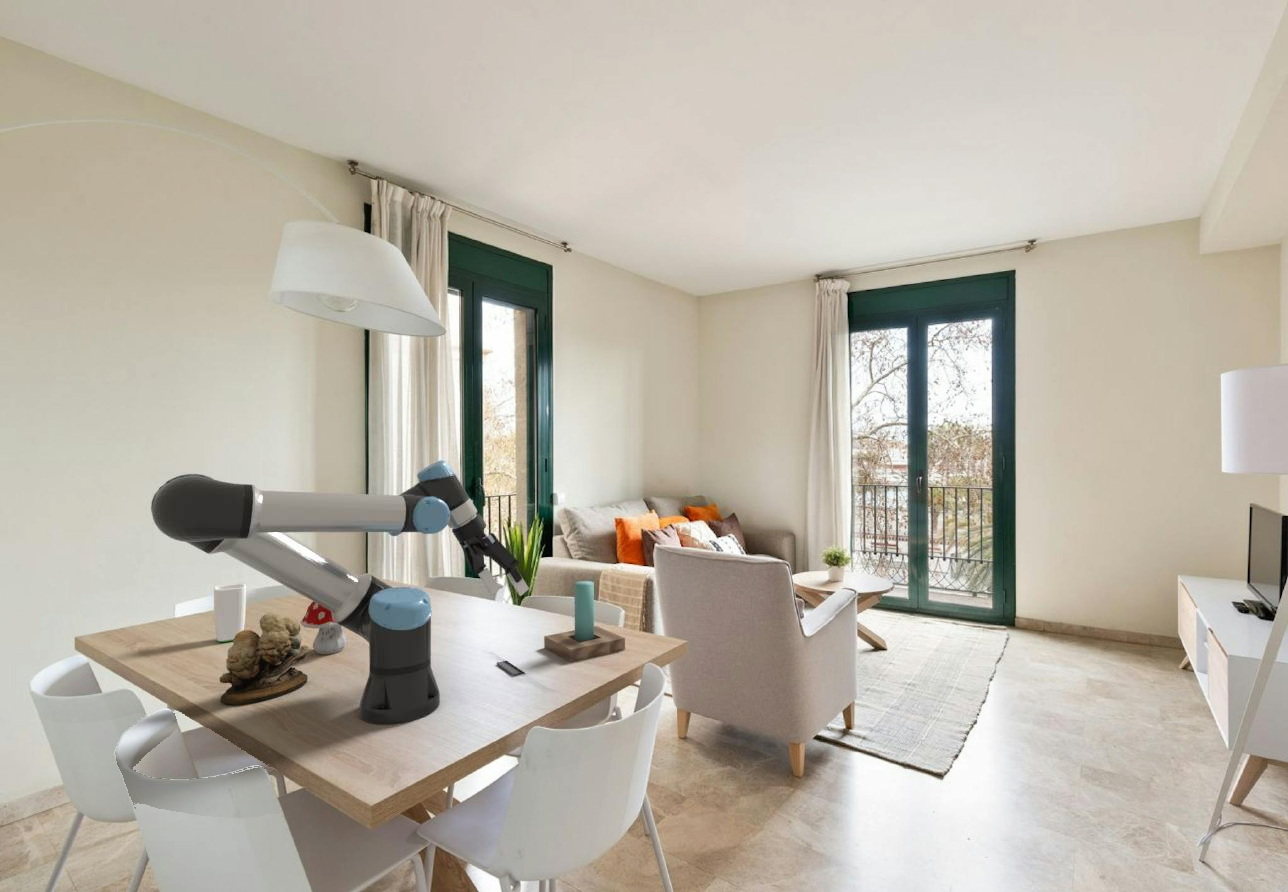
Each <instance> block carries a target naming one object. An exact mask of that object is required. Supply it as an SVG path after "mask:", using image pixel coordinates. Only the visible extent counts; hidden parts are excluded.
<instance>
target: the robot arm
mask: <svg viewBox="0 0 1288 892" xmlns="http://www.w3.org/2000/svg"><path fill="white" fill-rule="evenodd" d="M453 470H454V469H452V467H451V465H450V464H449V463H448V462H447V461H446V460H443V459H442V460H438V461H436V462H434V463H432V464H430V465H428V466H426V467H424V468H423V469H421V470H420V471H419V472H418V473H417V474H416V476H417V479H418V482H417V483H416V484H414V485H413V486H412V487H410V488H409V489H406V490H405V491H403V492H402V493H400V494H399V495H391V494H371V493H370V494H365V493H362V494H361V493H343V492H342V493H337V492H336V493H335V492H310V491H309V492H308V491H307V492H306V491H283V490H281V491H279V490H278V491H276V490H262V489H261V490H260V489H259V488H258V487H257V486H256V485H254V484H245V483H232V482H226V481H221V480H217V479H214V478H213V477H210V476H208V475H204V474H198V473H186V474H185V473H184V474H181V475H177V476H175V477H172V478H170V479H168V480H167V481H165V483H164V484H162V485H161V486H160V487H159V488H158V490H156V492H155V493H154V495H153V497H152V500H151V505H150V510H151V511H150V512H151V514H152V519H153V520H152V521H153V523H154V524H155V526H156V527H157V529H158V530H159V531H160V532H161V533H162V534H163V535H165V536H167V537H168V538H170V539H173V540H174V541H179V542H185V543H187V544H189V545H191V546H193V547H194V548H197V549H199V550H200V551H203V552H204V553H206V554H208V555H213V554H218V553H225V554H226V555H228V556H230V557H232V558H234V559H235V560H237V561H238V562H241V563H242V564H244V565H247V566H248V567H250V568H252V569H253V570H255V571H257V572H259V573H261V574H263V575H265V576H267V577H268V578H270V579H272V580H274V581H275V582H278V583H279V584H281V585H283V586H285V587H287V588H289V589H290V590H292V591H294V592H296V593H298V594H299V595H300V596H302V597H305V598H307V599H308V600H311V601H312V602H313V601H314V602H316V603H317V604H319V605H321V606H323V607H325V608H327V609H328V610H330V611H331V612H332V618H333V621H334V622H336V623H338V624H339V625H341V627H343V628H345V629H347V630H349V631H350V632H353V633H354V634H356V635H358V636H360V637H361V638H363V639H364V640H365V641H366V642H367V643H369V648H368V649H369V652H368V653H369V654H368V655H369V659H368V660H369V668H368V669H369V674H368V677H367V680H366V683H365V687H364V690H363V693H362V695H361V698H360V702H359V717H360V718H361V719H362V720H363V721H366V722H368V723H372V724H380V725H381V724H382V725H384V724H385V725H386V724H387V725H388V724H397V723H398V724H399V723H404V722H409V721H414V720H417V719H420V718H423V717H425V716H427V715H430V714H431V713H433V712H434V711H435V710H437V708H439V706H440V704H441V703H440V702H441V700H440V697H441V695H440V689H439V686H438V684H437V683H438V682H437V680H436V678H435V675H434V674H435V673H434V672H433V669H432V662H431V661H432V657H431V656H432V650H431V649H432V648H431V647H432V611H433V610H432V609H433V608H432V605H431V597H430V595H429V593H427V592H426V591H425V590H422V589H419V588H417V587H415V588H412V587H410V586H397V587H393V586H391V585H389V584H387V583H385V582H384V581H382V580H380V579H379V578H377V577H375V576H373V574H370V573H367V572H366V573H362V574H356V573H354V572H352V571H351V570H349V569H347V568H346V567H344V566H342V565H341V564H339V563H337V562H335V561H334V560H332V559H331V558H329V557H327V556H326V555H324V554H322V553H320V552H319V551H317V550H315V549H314V548H312V547H310V546H309V545H307V544H306V543H303V542H302V541H300V540H299V539H297V538H296V537H293V536H292V535H290V534H289V533H292V534H293V533H388V534H389V536H392V537H398V536H399V535H401V534H403V533H422V534H424V535H430V534H431V535H433V534H434V535H435V534H438V533H441V532H442V531H443V530H444V529H445V528H446V527H447V526H448V528H449V529H450V528H451V532H452V534H453V536H454V537H455V539H456V540H457V541H458V543H459V545H460V547H461V548H462V551H463V554H464V556H465V560H466V562H467V564H468V569H469V571H470V573H471V572H472V573H473V572H474V573H475V574H476V575H478V577H479V578H480V580H481V582H482V583H483V585H484V586H485V588H486V589H487V591H488V592H489V594H490V596H494V595H495V594H496V593H497V592H498V591H499V590H501V587H500V586H499V583H498V582H497V581H496V578H495V577H494V576H493V574H492V572H490V570H489V568H488V565H487V564H486V563H485V559H484V558H485V557H487V558H490V559H491V560H492V561H493V562H494V563H496V564H497V565H498V566H499V567H500V568H502V570H504V571H505V573H504V575H506V577H507V578H508V580H509V581H510V583H511V585H512V586H513V588H514V589H515V591H516V592H517V595H519V596H520V597H522V595H524V594H525V593H526V592H527V591H528V590H530V587H529V586H528V585H527V582H526V581H525V580H524V578H523V576H522V575H521V573H520V572H519V570H518V568H517V567H518V566H519V565H520V562H519V560H518V559H517V558H516V557H515V556H514V555H513V554H512V553H511V552H510V551H509V550H508V549H507V548H506V547H505V546H504V544H502V542H501V541H500V540H499V539H498V538H497V537H496V535H495V533H493V532H491V533H490V534H488V535H487V533H485V529H486V527H487V523H486V521H485V520H484V518H483V517H482V516H481V513H478V509H477V508H476V506H475V504H474V500H473V499H471V498H470V496H469V495H468V493H467V492H466V490H465V488H464V486H463V484H462V483H461V481H460V480H459V478H458V476H457V474H456V473H455V471H453Z"/></svg>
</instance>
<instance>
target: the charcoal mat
mask: <svg viewBox="0 0 1288 892" xmlns="http://www.w3.org/2000/svg"><path fill="white" fill-rule="evenodd" d="M496 666H498V668H501V669H502V670H503V671H505V672H506V673H508V674H510V675H511V676H513V677H516V676H521V675H525V674H527V673H526V672H525V671H523V670H522V669H520V668H518V667H517V666H515V665H514V664H512V663H511V662H510V661H508V660H503V661H497V662H496Z"/></svg>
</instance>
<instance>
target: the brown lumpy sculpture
mask: <svg viewBox="0 0 1288 892" xmlns="http://www.w3.org/2000/svg"><path fill="white" fill-rule="evenodd" d="M259 626H260V629H261V631H262V633H261V635H259V634H258V633H257V632H255V631H253V630H251V629H250V630H249V629H244V630H243V631H241V632H239V633H237V634H236V635H235V637H234V640H233V641H232V644H233V645H231V646H230V647H229V648H228V650H227V658H226V660H225V663H226V665H225V667H226V669H227V671H228V672H225V673H222V674H221V676H220V677H219V682H220V683H221V684H230V685H231V686H230V687H228V688H227V689H226V690H225V692H224V693H223V694H221V696H220V703H222V704H223V705H226V706H233V707H234V706H244V705H249V704H255V703H258V702H263V701H268V700H272V699H274V698H277V697H280V696H283V695H287V694H290V693H291V692H294V691H296V690H298V689H300V688H302V687H303V686H304V685H305V684H307V682H308V677H309V676H308V675H307V673H304V672H303V671H302V670H298V669H296V667H292V666H294V665H296V664H298V663H300V662H301V661H302V660H304V659H306V658H305V657H306V655H307V654H308V653H309V652H310V650H309V645H302V635H301V634H300V632H301V626H302V625H301V623H300V622H299V620H298V619H297V618H296V617H293V616H285V617H282V616H281V615H280V614H278V613H276V612H274V613H273V612H267V613H265V614H264V615H262V616H261V618H260V619H259Z"/></svg>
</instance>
